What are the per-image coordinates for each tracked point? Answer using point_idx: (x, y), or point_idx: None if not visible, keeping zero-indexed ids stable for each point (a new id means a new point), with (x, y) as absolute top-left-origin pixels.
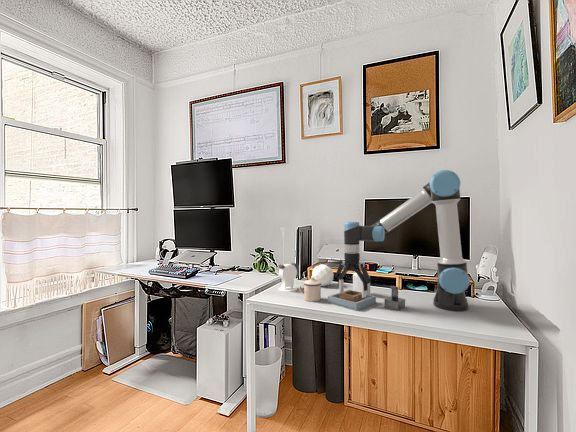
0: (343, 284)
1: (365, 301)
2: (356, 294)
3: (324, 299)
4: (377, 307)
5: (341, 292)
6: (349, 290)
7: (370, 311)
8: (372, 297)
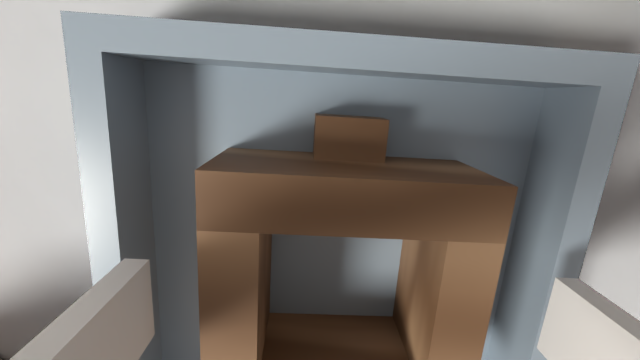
0: (60, 357)
1: None
2: (437, 330)
3: (34, 332)
4: (616, 197)
5: (107, 234)
6: (214, 205)
7: None
8: (612, 154)
